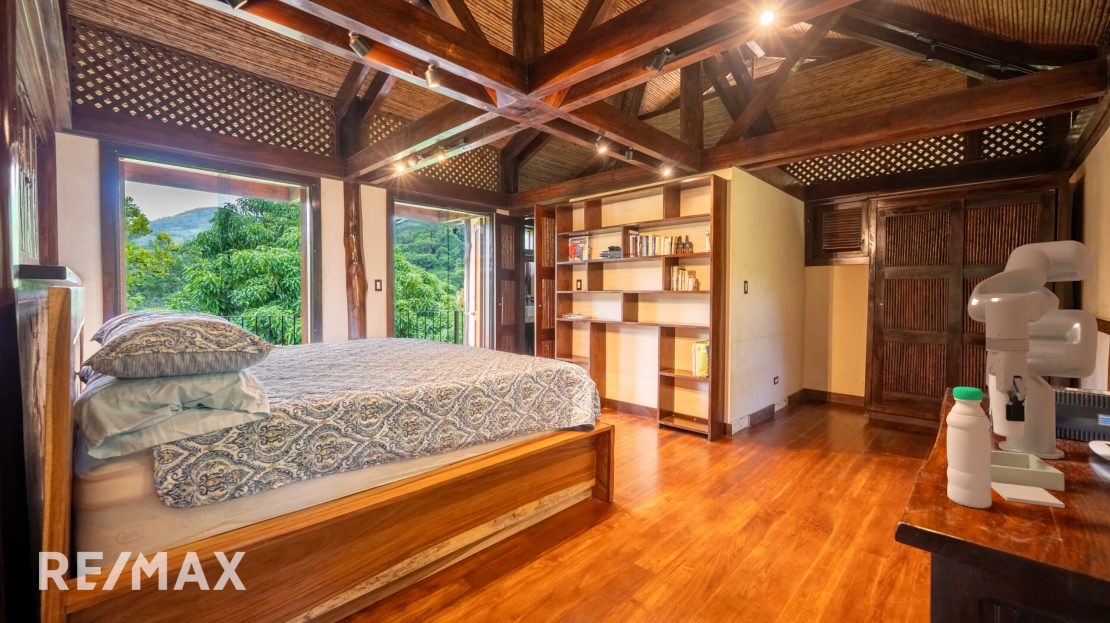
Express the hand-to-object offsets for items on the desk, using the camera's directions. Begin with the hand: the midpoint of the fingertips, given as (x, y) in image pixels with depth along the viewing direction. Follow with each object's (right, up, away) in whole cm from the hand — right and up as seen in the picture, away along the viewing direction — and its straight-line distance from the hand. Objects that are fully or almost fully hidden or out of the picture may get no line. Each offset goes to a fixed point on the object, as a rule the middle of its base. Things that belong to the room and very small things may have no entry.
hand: (1008, 416), depth 110 cm
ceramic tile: (-8, -15, -11) cm, 20 cm away
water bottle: (-23, -16, -14) cm, 31 cm away
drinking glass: (0, -5, 0) cm, 5 cm away
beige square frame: (0, -15, 0) cm, 15 cm away
